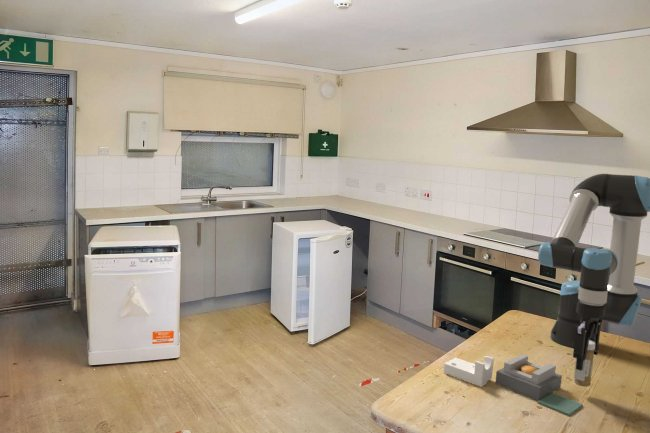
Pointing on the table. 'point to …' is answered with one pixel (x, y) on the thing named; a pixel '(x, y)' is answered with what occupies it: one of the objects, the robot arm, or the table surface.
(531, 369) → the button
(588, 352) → the sprinkles bottle
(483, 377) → the bracket
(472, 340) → the table surface
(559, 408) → the mat
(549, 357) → the table surface
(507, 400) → the table surface
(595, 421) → the table surface
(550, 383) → the grey square holder
